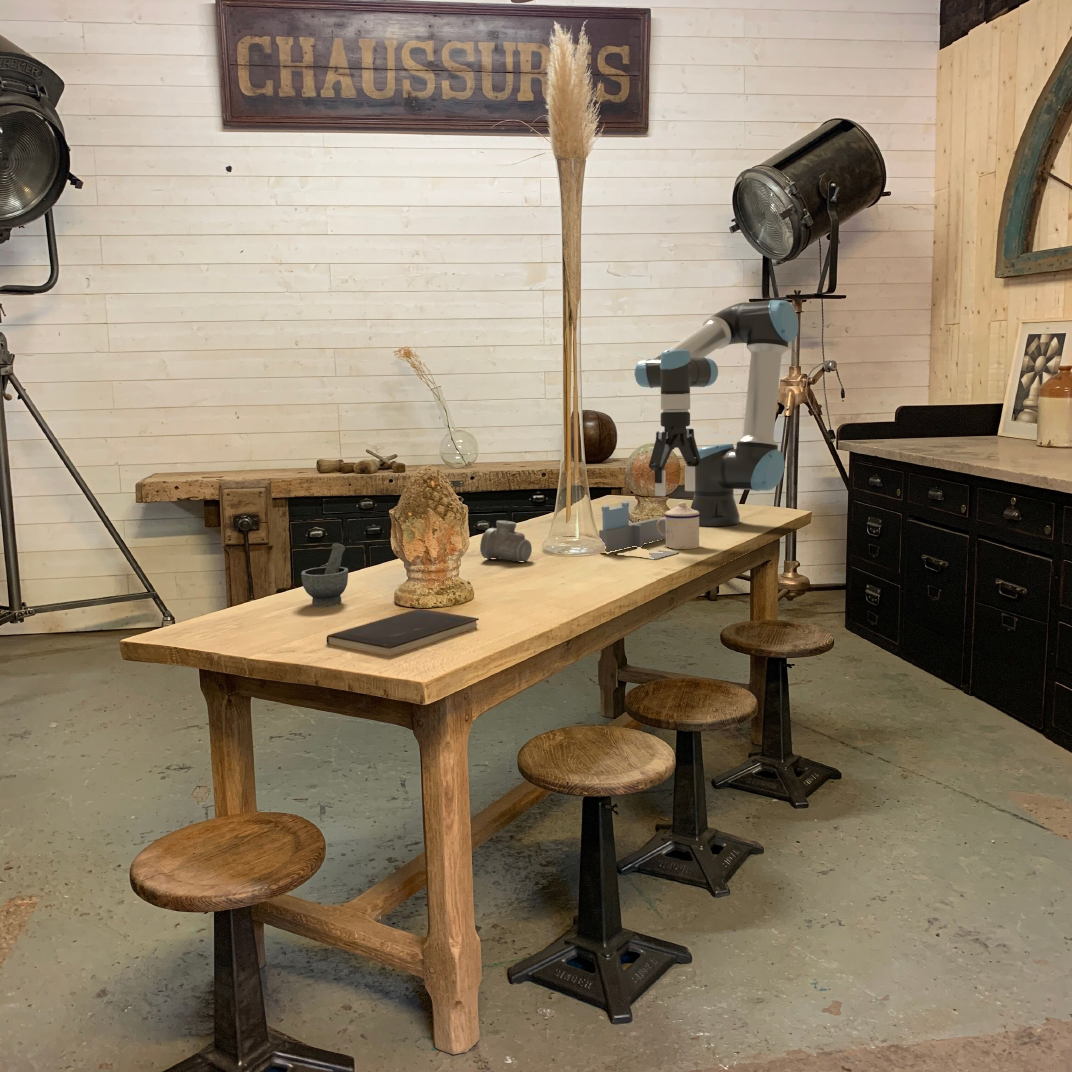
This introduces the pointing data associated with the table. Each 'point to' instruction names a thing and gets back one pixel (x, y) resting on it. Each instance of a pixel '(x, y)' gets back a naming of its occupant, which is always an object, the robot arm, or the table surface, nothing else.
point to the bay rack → (635, 536)
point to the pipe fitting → (505, 543)
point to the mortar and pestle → (327, 580)
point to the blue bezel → (615, 516)
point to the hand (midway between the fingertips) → (675, 493)
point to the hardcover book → (402, 631)
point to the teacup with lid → (681, 527)
